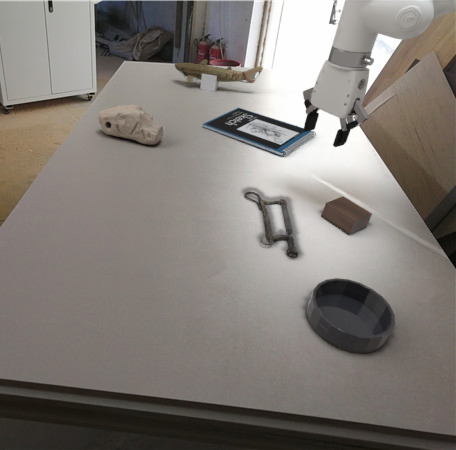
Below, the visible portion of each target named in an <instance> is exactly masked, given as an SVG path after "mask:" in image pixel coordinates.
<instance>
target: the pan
mask: <svg viewBox="0 0 456 450" xmlns="http://www.w3.org/2000/svg"><path fill="white" fill-rule="evenodd" d="M307 317H308V318H307ZM395 317H396V316H395V313H394V311H393V308H392V306H391V305H390V304H389V302H388V301H387V300H386V299H385V298H384V296H382V295H381V294H380V293H378V292H377V291H376V290H375V289H374V288H371V287H369V286H367V285H365V284H363V283H361V282H359V281H355V280H351V279H348V278H339V277H335V278H328V279H324V280H322V281H320V282H319V283H318V284H317V285H316V286H315V288H313V290H312V293H311V295H310V298H309V300H308V302H307V307H306V318H307V321H308V324H309V325H310V327H311V329H313V331H314V332H315V333H316V334H317V336H319V338H321V339H322V340H323V341H324V342H326V343H327V344H329V345H331V346H333V347H335V348H336V349H338V350H341V351H345V352H348V353H353V354H368V353H372V352H376V351H377V350H379V349H380V348H381V347H383V345H384V344H385V342H386V340H387V339H388V338H389V336H390V334H391V332H392V331H393V329H394V327H395V325H396V318H395Z"/></svg>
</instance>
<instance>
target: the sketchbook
mask: <svg viewBox="0 0 456 450" xmlns="http://www.w3.org/2000/svg"><path fill="white" fill-rule="evenodd" d="M202 128H204V129H206V130H209V131H212V132H215V133H218V134H220V135H223V136H226V137H228V138H231V139H234V140H237V141H240V142H242V143H245V144H247V145H249V146H250V145H251V146H253V147H256V148H259V149H262V150H264V151H267V152H270V153H272V154H275V155H278V156H280V157H284V158H285V157H287V156H288V155H290V154H292V152H294V151H296V150H297V149H298V148H300V147H301V146H303V145H304V144H305V143H308V141H310V140H312V139H313V138H314V137H316V135H317V132H316V131H314V130H311V131H307V132H305V131H303V129H304V127H301V126H298V125H295V124H292V123H289V122H286V121H283V120H279V119H276V118H272V117H269V116H266V115H263V114H260V113H257V112H253V111H250V110H247V109H244V108H241V107H237V108H235V109H232V110H230V111H228V112H226V113H224V114H221V115H219V116H217V117H215V118H212V119H210V120H208V121H206V122H204V123H202Z"/></svg>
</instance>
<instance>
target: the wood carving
mask: <svg viewBox="0 0 456 450" xmlns="http://www.w3.org/2000/svg"><path fill="white" fill-rule="evenodd" d="M208 62H209V59H202V60H201V61H199V63H193V62H175V63H174V67H175V70H177V71H178V72H179V73H180V74H181V75H182V76H183V77H184V78H185V79H186V81H187V82H188V83H189V84H192V83H194V82H196V81H199V80H200V88H199V89H200V90H203V91H207V92H208V91H209V92H216V91H217V89H218V88H219V84H220V83H234V82H239V83H243V84H244V83H245V84H254V83H255V82H256V80H257V79H258V78H259V76H260V75H261V73H262V71H263V69H264V67H263V65H258V66H254V67H252V68H250V69H248V70H244V71H241V70H234V69H233V68H232V66H228V67H226V68H225V67H218V66H212V65H209V64H208ZM257 73H258V74H257ZM256 74H257V76H256ZM219 82H220V83H219Z"/></svg>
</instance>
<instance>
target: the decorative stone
mask: <svg viewBox="0 0 456 450" xmlns="http://www.w3.org/2000/svg"><path fill="white" fill-rule="evenodd" d="M153 120H154V115H151V114H150V113H149V112H146V110H145V109H143V107H142V106H141V105H139V104H124V105H122V104H119V105H115V106H111V107H109V108H106V109H103V110H100V111H99V113H98V121H99V125H100V127H101V131H102V132H103V133H104V134H105V135H108V136H112V137H113V136H114V137H119V138H123V139H128V140H132V141H136V142H138V143H140V144H143V145H150V146H152V145H156V144H158V143H159V142H160V141H162V139H163V137H164V126H163V125H161V124H159V123H157V122H155V121H153Z"/></svg>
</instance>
